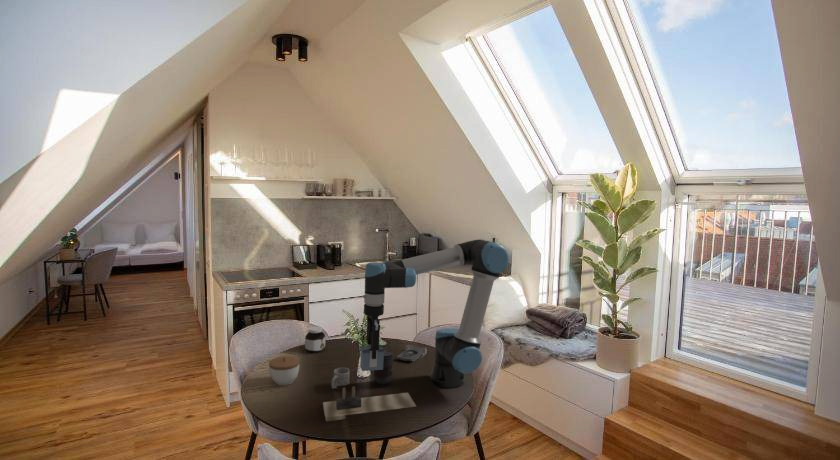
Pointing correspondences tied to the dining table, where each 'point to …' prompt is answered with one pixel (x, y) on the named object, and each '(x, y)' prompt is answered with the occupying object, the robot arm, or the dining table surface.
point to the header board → (364, 404)
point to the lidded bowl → (284, 369)
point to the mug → (340, 377)
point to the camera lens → (384, 371)
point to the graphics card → (412, 353)
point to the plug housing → (366, 358)
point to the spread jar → (315, 340)
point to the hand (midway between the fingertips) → (371, 363)
